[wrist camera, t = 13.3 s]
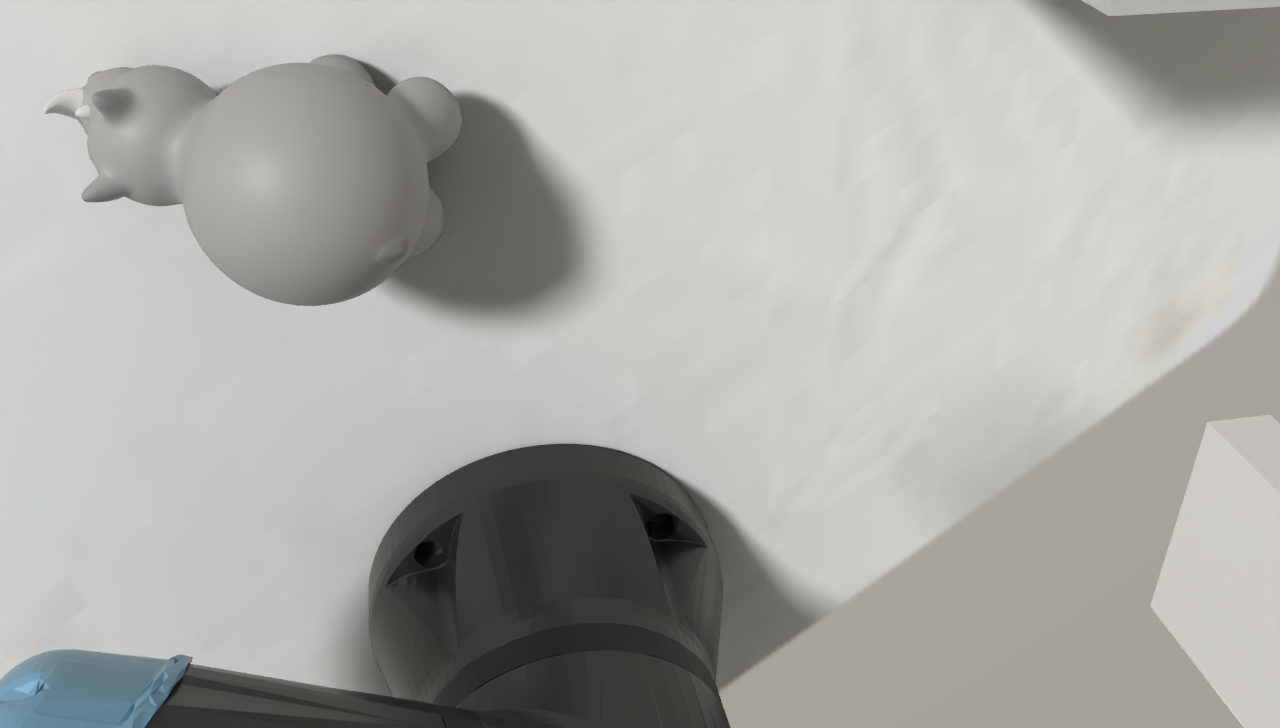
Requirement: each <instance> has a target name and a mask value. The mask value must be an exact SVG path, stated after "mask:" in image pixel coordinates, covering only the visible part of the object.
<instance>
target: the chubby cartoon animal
mask: <svg viewBox="0 0 1280 728" xmlns="http://www.w3.org/2000/svg"><path fill="white" fill-rule="evenodd" d="M43 113H44V114H47V113H58V114H62V115H66V116H69V117H71V118H74V119H77V120H78V122H79V123H81V125H82V126H83V128H84V130H85V132H86V133H87V135H88V138H87V146H88V152H89V156H90V159H91V161H92V162H93V164H94V165H95V167H96V169H97V171H98V173H99V176H98V178H97V179H95V180H94V181H93V182H92V183H91V184H90V185H89V186H88V187H87V188H86V189H85V190H84V191H83V193H82V199H83V200H84V201H86V202H106V201H111V200H115V199H118V198H121V197H124V196H125V197H127V198H129V199H131V200H134V201H136V202H139V203H142V204H147V205H152V206H169V205H175V204H183V205H184V209H185V213H186V217H187V221H188V223H189V226H190V228H191V230H192V232H193V234H194V236H195V238H196V240H197V242H198V243H199V245H200V247H201V248H202V250H203V251H204V252H205V254H206V255H207V256H208V257H209V259H210V260H211V261H212V262H213V263H214V264H215V265H216V267H217V268H218V269H220V270H221V271H222V272H223V273H224V274H225V275H226V276H228V277H229V278H230V279H231V280H233V281H234V282H236V283H237V284H239V285H240V286H242V287H243V288H245V289H247V290H249V291H250V292H253V293H255V294H257V295H259V296H261V297H264V298H267V299H270V300H273V301H277V302H281V303H286V304H292V305H302V306H317V305H327V304H333V303H339V302H342V301H346V300H349V299H352V298H354V297H357V296H360V295H362V294H364V293H366V292H368V291H370V290H371V289H373V288H374V287H376V286H378V285H379V284H381V283H382V282H383V281H384V280H386V279H387V278H388V277H390V276H391V275H392V274H393V273H394V272H395V271H396V270H397V269H398V268H399V267H400V266H401V265H402V263H403V262H404V261H405V260H406V258H409V257H413V256H416V255H419V254H421V253H423V252H425V251H426V250H428V249H429V248H431V247H432V246H433V245H434V244H435V243H436V242H437V241H438V239H439V238H440V236H441V235H442V232H443V230H444V227H445V213H444V208H443V205H442V203H441V201H440V199H439V197H438V195H437V194H436V193H435V191H434V190H433V189H432V188H431V187H430V186H429V180H428V170H427V163H428V162H429V161H431V160H433V159H435V158H437V157H439V156H441V155H442V154H444V153H445V152H446V151H447V150H448V149H449V148H450V147H451V146H452V145H453V144H454V142H455V141H456V139H457V137H458V135H459V133H460V131H461V127H462V112H461V109H460V106H459V104H458V102H457V100H456V98H455V97H454V96H453V94H452V93H451V92H450V91H449V90H448V89H447V88H446V87H445V86H444V85H442V84H441V83H439V82H437V81H435V80H433V79H430V78H426V77H414V78H410V79H407V80H404V81H402V82H400V83H399V84H397V85H396V86H394V87H393V88H392V89H391V90H390V91H389V93H388V94H387V96H386V95H385V94H384V93H382V92H381V91H380V90H379V89H377V88H376V87H375V84H374V82H373V80H372V78H371V76H370V75H369V73H368V72H367V70H366V69H365V68H364V67H363V66H362V65H361V64H360V63H358V62H357V61H356V60H354V59H352V58H350V57H348V56H344V55H326V56H322V57H319V58H317V59H315V60H313V61H311V62H309V63H289V64H280V65H275V66H270V67H267V68H263V69H260V70H257V71H255V72H252V73H250V74H248V75H246V76H244V77H242V78H240V79H238V80H237V81H235V82H234V83H232V84H231V85H229V86H228V87H227V88H225V89H224V90H223V91H222V92H221V93H220V94H219V95H218V96H217V95H216V94H215V93H214V92H213V91H212V90H211V88H210V87H208V86H207V85H206V84H205V83H204V82H202V81H201V80H200V79H198V78H196V77H195V76H193V75H191V74H189V73H187V72H185V71H182V70H179V69H176V68H172V67H167V66H157V65H154V66H142V67H138V68H128V67H120V68H113V69H109V70H106V71H98V72H95V73H93V74H92V75H91V76H90V77H89V78H88V82H87V84H86V86H84V87H82V88H77V89H71V90H66V91H63V92H60V93H58V94H56V95H54V96H53V97H51V98H50V99H49V100H48V101H47V102H46V104H45V106H44V108H43Z"/></svg>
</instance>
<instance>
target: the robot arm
mask: <svg viewBox="0 0 1280 728" xmlns="http://www.w3.org/2000/svg"><path fill="white" fill-rule="evenodd" d="M722 600H723V584H722V575H721V568H720V563H719V559H718V556H717V553H716V550H715V547H714V545H713V542H712V539H711V536H710V534H709V531H708V528H707V525H706V523H705V521H704V518H703V516H702V514H701V512H700V510H699V509H698V507H697V506H696V504H695V503H694V501H693V500H692V498H691V497H690V496H689V495H688V494H687V492H686V491H685V490H684V489H683V488H682V487H681V486H680V485H679V484H678V483H677V482H675V481H674V480H673V479H672V478H671V477H669V476H668V475H666V474H665V473H664V472H662V471H661V470H659V469H657V468H656V467H654V466H652V465H650V464H648V463H646V462H644V461H642V460H640V459H638V458H635V457H633V456H630V455H627V454H624V453H621V452H618V451H614V450H610V449H606V448H600V447H594V446H586V445H574V444H550V445H538V446H531V447H524V448H519V449H514V450H509V451H505V452H502V453H498V454H495V455H492V456H489V457H486V458H483V459H480V460H478V461H475V462H473V463H470V464H468V465H466V466H464V467H462V468H460V469H458V470H456V471H454V472H452V473H450V474H449V475H447V476H445V477H444V478H442V479H440V480H439V481H437V482H436V483H434V484H433V485H432V486H430V487H429V488H427V489H426V490H425V491H424V492H422V493H421V494H420V495H419V496H418V497H416V498H415V499H414V500H413V501H412V502H411V503H410V504H409V505H408V506H407V507H406V508H405V509H404V510H403V511H402V513H401V514H400V515H399V516H398V517H397V518H396V520H395V521H394V522H393V524H392V525H391V527H390V528H389V530H388V531H387V533H386V534H385V536H384V538H383V540H382V542H381V544H380V546H379V548H378V550H377V553H376V555H375V558H374V561H373V565H372V569H371V574H370V580H369V630H370V638H371V643H372V647H373V651H374V655H375V658H376V661H377V664H378V666H379V668H380V670H381V673H382V675H383V677H384V679H385V681H386V683H387V685H388V687H389V689H390V691H391V693H392V695H393V697H389V696H383V695H376V694H369V693H362V692H356V691H349V690H342V689H336V688H329V687H323V686H317V685H311V684H305V683H299V682H294V681H288V680H282V679H276V678H270V677H264V676H258V675H252V674H246V673H241V672H235V671H229V670H223V669H217V668H211V667H205V666H199V665H193V664H190V663H191V662H192V659H193V657H189V656H185V655H176V656H174V657H172V658H171V659H168V660H166V659H156V658H147V657H138V656H129V655H120V654H110V653H101V652H92V651H83V650H55V651H49V652H45V653H42V654H38V655H36V656H33V657H31V658H29V659H27V660H25V661H23V662H22V663H20V664H19V665H17V666H16V667H14V668H13V669H12V670H11V671H9V672H8V673H7V674H6V675H5V676H4V677H3V678H2V679H1V681H0V728H730V725H729V723H728V719H727V717H726V714H725V711H724V709H723V706H722V703H721V699H720V696H719V693H718V690H717V686H716V671H717V659H718V647H719V635H720V624H721V612H722ZM1150 607H1151V608H1152V609H1153V611H1154V612H1155V613H1156V614H1157V616H1158V617H1159V619H1160V620H1161V621H1162V622H1163V624H1164V625H1165V626H1166V628H1167V629H1168V630H1169V631H1170V633H1171V634H1172V635H1173V637H1174V638H1175V639H1176V641H1177V642H1178V643H1179V644H1180V646H1181V647H1182V648H1183V649H1184V651H1185V652H1186V653H1187V655H1188V656H1189V657H1190V659H1191V660H1192V661H1193V663H1194V664H1195V665H1196V666H1197V668H1198V669H1199V670H1200V672H1201V673H1202V674H1203V675H1204V677H1205V678H1206V679H1207V681H1208V682H1209V683H1210V684H1211V685H1212V687H1213V688H1214V690H1215V691H1216V692H1217V693H1218V695H1219V696H1220V697H1221V699H1222V700H1223V701H1224V703H1225V704H1226V705H1227V706H1228V708H1229V709H1230V710H1231V712H1232V713H1233V714H1234V716H1235V717H1236V718H1237V719H1238V720H1239V722H1240V723H1241V725H1242V726H1243V727H1244V728H1280V423H1278V422H1277V421H1276V420H1275V419H1274V418H1273V417H1272V416H1271V415H1264V416H1256V417H1247V418H1239V419H1231V420H1222V421H1213V422H1208V423H1207V426H1206V429H1205V432H1204V436H1203V439H1202V442H1201V445H1200V448H1199V451H1198V455H1197V458H1196V461H1195V464H1194V468H1193V471H1192V474H1191V477H1190V480H1189V483H1188V487H1187V491H1186V493H1185V496H1184V499H1183V503H1182V506H1181V509H1180V512H1179V515H1178V519H1177V522H1176V525H1175V528H1174V531H1173V535H1172V538H1171V541H1170V544H1169V548H1168V551H1167V554H1166V557H1165V560H1164V563H1163V567H1162V570H1161V573H1160V576H1159V579H1158V582H1157V586H1156V589H1155V593H1154V595H1153V599H1152V602H1151V605H1150Z"/></svg>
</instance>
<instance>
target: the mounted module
mask: <svg viewBox="0 0 1280 728" xmlns="http://www.w3.org/2000/svg"><path fill="white" fill-rule="evenodd" d="M1081 1H1083V2H1085V3H1087V4H1088V5H1090V6H1092V7H1094V8H1095V9H1097V10H1099V11H1101V12H1102V13H1104V14H1106V15H1108V16H1123V15H1141V14H1159V13H1177V12H1195V11H1213V10H1232V9H1250V8H1268V7H1280V0H1081Z"/></svg>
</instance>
